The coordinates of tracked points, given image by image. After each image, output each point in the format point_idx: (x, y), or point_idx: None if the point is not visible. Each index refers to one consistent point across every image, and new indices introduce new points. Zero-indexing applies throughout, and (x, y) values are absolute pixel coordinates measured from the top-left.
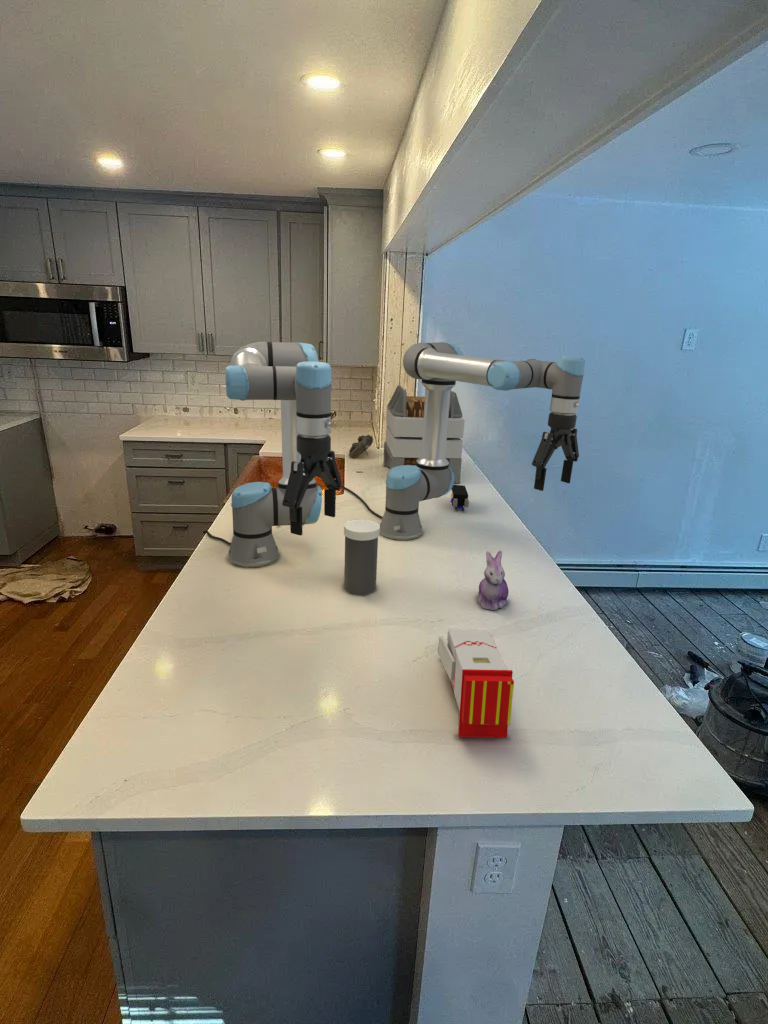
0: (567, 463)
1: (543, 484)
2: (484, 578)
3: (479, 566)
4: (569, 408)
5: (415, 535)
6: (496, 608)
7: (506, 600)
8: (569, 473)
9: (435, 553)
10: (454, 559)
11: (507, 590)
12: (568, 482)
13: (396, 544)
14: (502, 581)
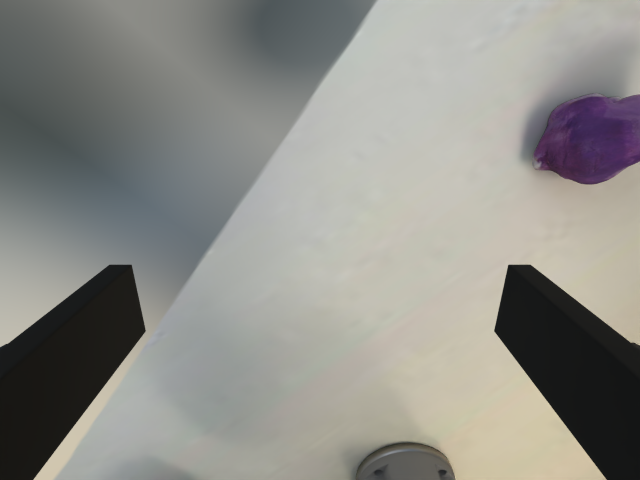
0: (2, 448)
1: (552, 292)
2: (612, 174)
3: (416, 278)
4: None
5: (410, 450)
6: (612, 97)
7: (563, 104)
8: (76, 320)
9: (436, 375)
10: (430, 334)
11: (595, 100)
12: (128, 269)
13: (462, 443)
14: (628, 114)
